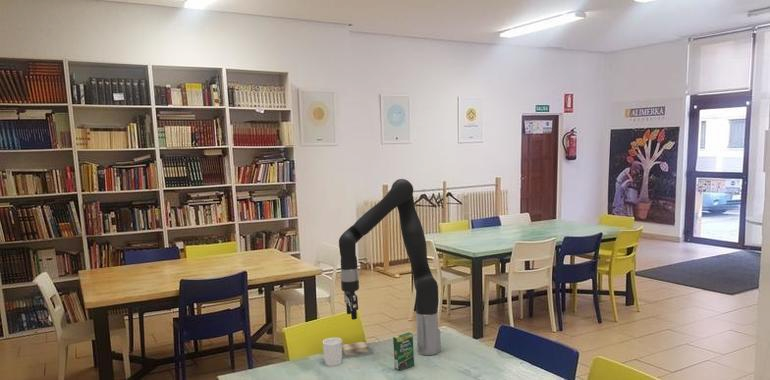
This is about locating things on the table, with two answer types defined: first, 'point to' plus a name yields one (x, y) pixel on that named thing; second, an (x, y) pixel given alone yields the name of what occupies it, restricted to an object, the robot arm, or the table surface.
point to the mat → (358, 354)
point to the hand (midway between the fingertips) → (351, 316)
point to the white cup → (332, 351)
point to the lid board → (354, 348)
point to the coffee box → (403, 351)
